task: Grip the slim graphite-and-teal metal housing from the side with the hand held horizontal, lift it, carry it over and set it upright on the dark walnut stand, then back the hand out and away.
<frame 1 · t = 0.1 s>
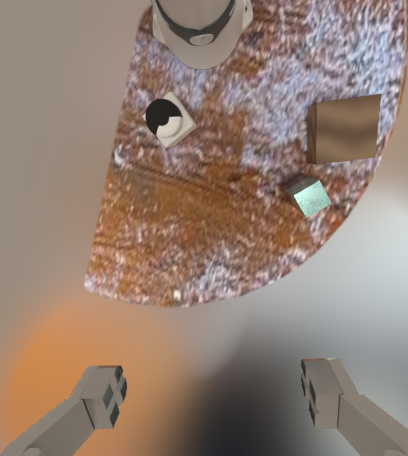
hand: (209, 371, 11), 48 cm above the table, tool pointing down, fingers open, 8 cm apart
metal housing: (295, 188, 55), on the table
walnut stand: (335, 131, 51), on the table
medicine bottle: (174, 123, 53), on the table
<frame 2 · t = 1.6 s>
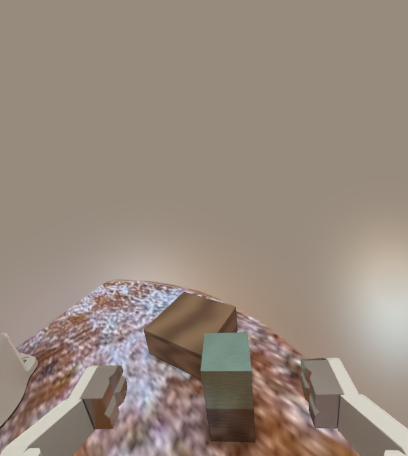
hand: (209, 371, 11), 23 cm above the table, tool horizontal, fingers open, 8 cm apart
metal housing: (232, 418, 30), on the table
walnut stand: (194, 341, 42), on the table
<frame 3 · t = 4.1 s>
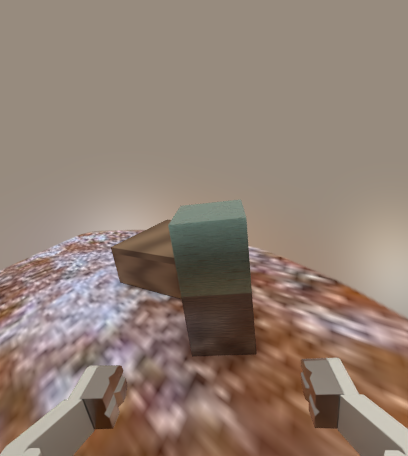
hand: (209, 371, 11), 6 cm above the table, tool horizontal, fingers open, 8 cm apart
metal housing: (223, 331, 21), on the table
walnut stand: (178, 268, 34), on the table
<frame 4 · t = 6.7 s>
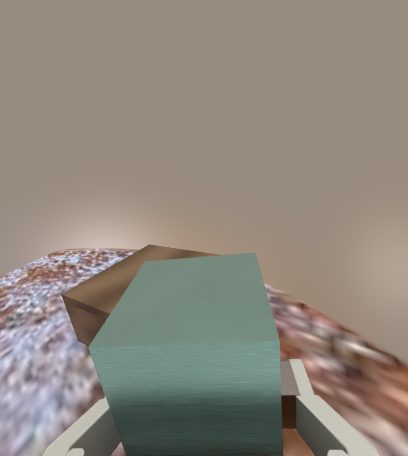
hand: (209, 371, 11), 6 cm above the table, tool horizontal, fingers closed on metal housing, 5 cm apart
walnut stand: (161, 318, 24), on the table
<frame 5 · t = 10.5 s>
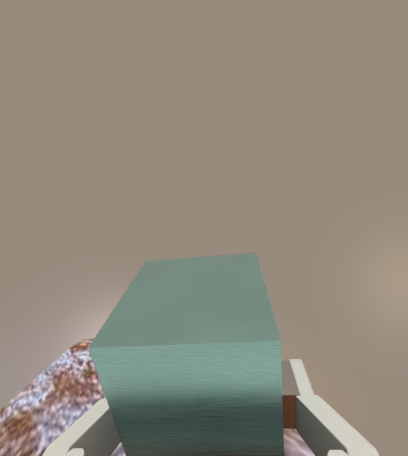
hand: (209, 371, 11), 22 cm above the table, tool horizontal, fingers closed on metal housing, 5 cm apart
when the fingers open (12 cm above the table, at t = 14.2 s): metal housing drops 1 cm, resting on walnut stand.
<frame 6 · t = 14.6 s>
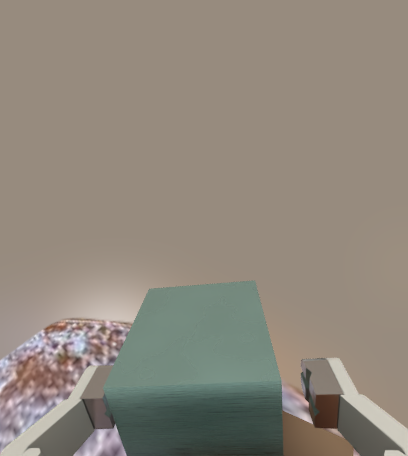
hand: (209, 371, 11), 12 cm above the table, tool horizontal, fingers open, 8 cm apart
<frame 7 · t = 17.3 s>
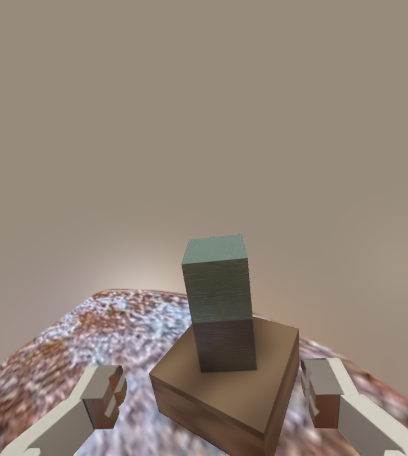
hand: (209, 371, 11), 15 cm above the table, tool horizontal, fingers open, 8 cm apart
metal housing: (227, 349, 24), point 5 cm above the table, touching walnut stand
walnut stand: (232, 387, 26), on the table
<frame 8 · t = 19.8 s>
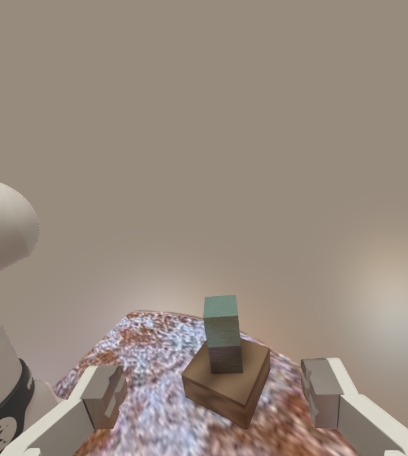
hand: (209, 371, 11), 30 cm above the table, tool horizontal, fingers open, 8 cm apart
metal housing: (226, 360, 41), point 5 cm above the table, touching walnut stand
walnut stand: (229, 382, 43), on the table
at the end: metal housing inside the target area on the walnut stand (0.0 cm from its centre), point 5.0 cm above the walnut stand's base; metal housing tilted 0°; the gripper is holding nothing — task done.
